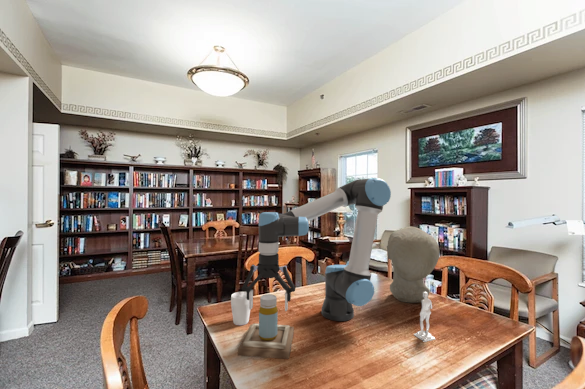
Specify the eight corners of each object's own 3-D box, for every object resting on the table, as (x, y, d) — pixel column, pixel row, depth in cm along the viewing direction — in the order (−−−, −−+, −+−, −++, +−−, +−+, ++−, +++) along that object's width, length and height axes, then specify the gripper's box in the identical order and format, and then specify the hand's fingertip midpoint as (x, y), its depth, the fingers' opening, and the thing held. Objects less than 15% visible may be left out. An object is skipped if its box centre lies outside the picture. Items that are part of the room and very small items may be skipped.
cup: (247, 327, 117) (247, 299, 117) (227, 325, 119) (227, 297, 119) (254, 318, 126) (254, 292, 126) (235, 316, 128) (235, 290, 128)
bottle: (259, 332, 108) (259, 294, 108) (277, 331, 109) (277, 293, 109) (258, 341, 101) (258, 300, 102) (277, 341, 102) (277, 300, 102)
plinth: (293, 332, 113) (293, 323, 113) (288, 358, 95) (289, 348, 95) (250, 330, 115) (250, 321, 115) (237, 355, 97) (237, 344, 97)
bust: (441, 299, 151) (442, 226, 151) (436, 319, 127) (437, 232, 127) (393, 290, 164) (394, 223, 164) (380, 307, 140) (381, 228, 140)
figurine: (429, 331, 115) (429, 288, 116) (441, 339, 109) (441, 293, 109) (411, 333, 114) (411, 289, 114) (422, 342, 107) (422, 295, 107)
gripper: (302, 251, 108) (302, 306, 108) (239, 250, 110) (239, 303, 110) (300, 255, 100) (300, 314, 100) (233, 254, 103) (233, 311, 103)
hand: (268, 309), depth 105 cm, fingers open, 13 cm apart
